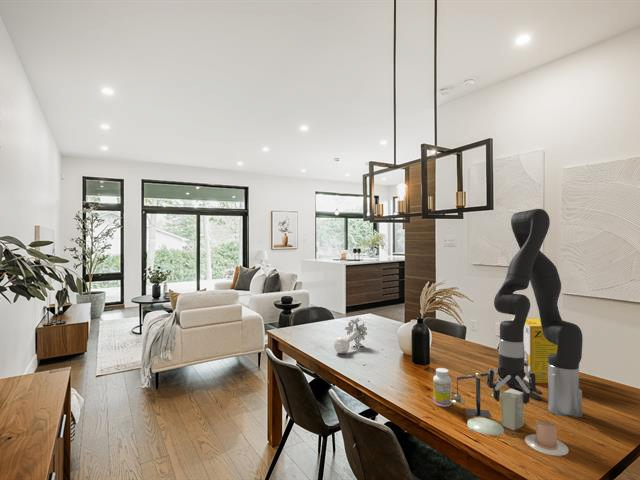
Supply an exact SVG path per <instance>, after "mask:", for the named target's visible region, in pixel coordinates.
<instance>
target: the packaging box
mask: <svg viewBox="0 0 640 480" xmlns="http://www.w3.org/2000/svg"><path fill="white" fill-rule="evenodd" d="M514 318H515V317H513V318H511V321H513V320H514ZM557 346H558V345H556V344H553V343H551V342H549V341H548V340H547V339H546V338H545V336H544V334H543V331H542V326H541V320H540V317H539V318H538V317H537V318H536V317H535V318H533V317H532V318H531V317H529V318H528V317H527V318H526V322H525V326H524V352H525V355H524V372H529V371H532V372H533V373H534V374H535V382H536V384H548V356H549V355H550V354H556V353H557ZM523 380H525V381H526V382H528V383H529V379H528V378H527V376H525V377H524V379H523Z"/></svg>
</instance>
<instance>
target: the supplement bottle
mask: <svg viewBox="0 0 640 480" xmlns="http://www.w3.org/2000/svg"><path fill="white" fill-rule="evenodd" d="M432 379H433V380H432V385H433V386H432V387H433V388H432V390H433V392H432V393H433V397H432V399H433V403H434V404H435V405H436V406H438V407H442V408H447V407H450V406H451V405H452V404H453V403H452V402H450V399H451V398H453V397H452V396H453V395H452V378H451V377H450V376H449V369H447V368H444V367H438V368H436V369H435V375H434V376H433V378H432Z"/></svg>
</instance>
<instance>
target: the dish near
mask: <svg viewBox="0 0 640 480" xmlns="http://www.w3.org/2000/svg"><path fill="white" fill-rule="evenodd" d="M535 438H536V433H533V434H531V433H530V434H528V435H525V438H524V441H525V443H526V444H527V445H528V446H529V447H530V448H532V449H534V450H536V451H537V452H540V453H542V454H546V455H549V456H560V457H561V456H565V455H567V454H568V453H569V448H568V446H567V445H566V444H565V443H564V442H562V441H561V440H559V439H557V445H558V448H557V449H556V450H548V449H544V448H542V447H540V446H538V445H537V444H536V443H535Z"/></svg>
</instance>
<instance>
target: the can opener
mask: <svg viewBox="0 0 640 480" xmlns="http://www.w3.org/2000/svg"><path fill="white" fill-rule="evenodd" d="M522 381H523V382H524V384H525V385H526V387H528V386H529V382H528V381H527V380H525V379H523V380H522ZM506 385H507V386H509V387H510V388H512V389H518V390H521V392H523V390H524V389H523V388H522V387H521V385H520V384H517V385H513V384H506ZM539 395H543V393H542V391H541V390H539V389H538V388H537V387H536V391H535V392H533V391H532V392H530V393H529V398H532V399H534V400H536V401H541V400H542V398H541V397H540V396H539Z"/></svg>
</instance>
